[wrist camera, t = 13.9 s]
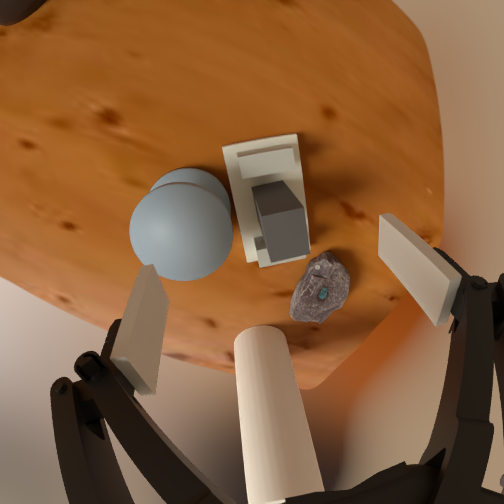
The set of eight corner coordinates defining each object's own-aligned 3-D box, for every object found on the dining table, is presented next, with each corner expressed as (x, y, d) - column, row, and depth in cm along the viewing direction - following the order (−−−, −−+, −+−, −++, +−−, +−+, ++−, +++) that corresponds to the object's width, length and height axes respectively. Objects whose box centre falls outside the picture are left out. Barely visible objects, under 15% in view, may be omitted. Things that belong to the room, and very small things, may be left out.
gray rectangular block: (251, 187, 34) (261, 216, 26) (282, 180, 34) (304, 207, 25) (258, 223, 37) (271, 263, 28) (289, 216, 37) (310, 253, 28)
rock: (354, 256, 42) (366, 271, 38) (326, 312, 47) (334, 329, 43) (308, 245, 41) (317, 260, 37) (283, 305, 46) (288, 324, 42)
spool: (137, 179, 33) (115, 200, 26) (220, 158, 33) (219, 173, 26) (162, 253, 39) (150, 288, 31) (238, 237, 39) (242, 270, 31)
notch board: (222, 146, 33) (222, 151, 28) (294, 133, 33) (304, 136, 28) (246, 258, 40) (249, 276, 36) (308, 245, 40) (317, 262, 36)
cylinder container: (287, 322, 47) (333, 493, 21) (284, 357, 52) (318, 505, 26) (232, 327, 47) (248, 507, 20) (235, 362, 51) (250, 515, 25)
